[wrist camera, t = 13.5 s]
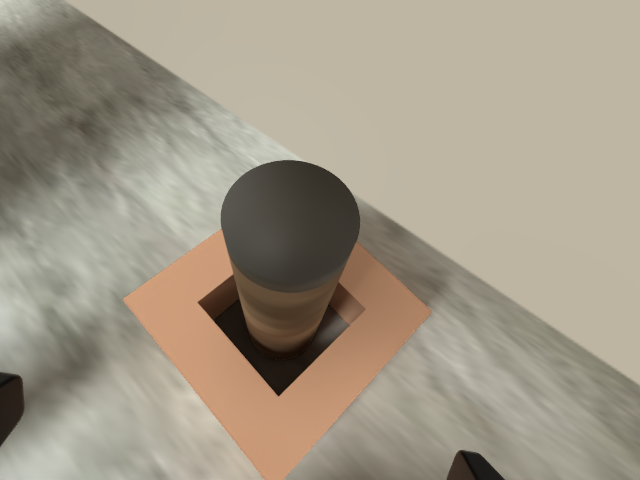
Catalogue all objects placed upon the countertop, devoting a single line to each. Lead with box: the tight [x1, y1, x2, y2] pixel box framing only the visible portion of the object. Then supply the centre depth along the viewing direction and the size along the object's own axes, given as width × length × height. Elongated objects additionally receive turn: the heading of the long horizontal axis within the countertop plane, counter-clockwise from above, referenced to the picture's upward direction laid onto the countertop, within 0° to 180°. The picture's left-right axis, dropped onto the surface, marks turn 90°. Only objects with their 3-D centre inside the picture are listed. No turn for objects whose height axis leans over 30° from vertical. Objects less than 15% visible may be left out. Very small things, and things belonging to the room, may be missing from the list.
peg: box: [221, 160, 360, 360], centre depth 16 cm, size 4×4×13 cm
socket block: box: [123, 229, 432, 480], centre depth 20 cm, size 11×11×4 cm
